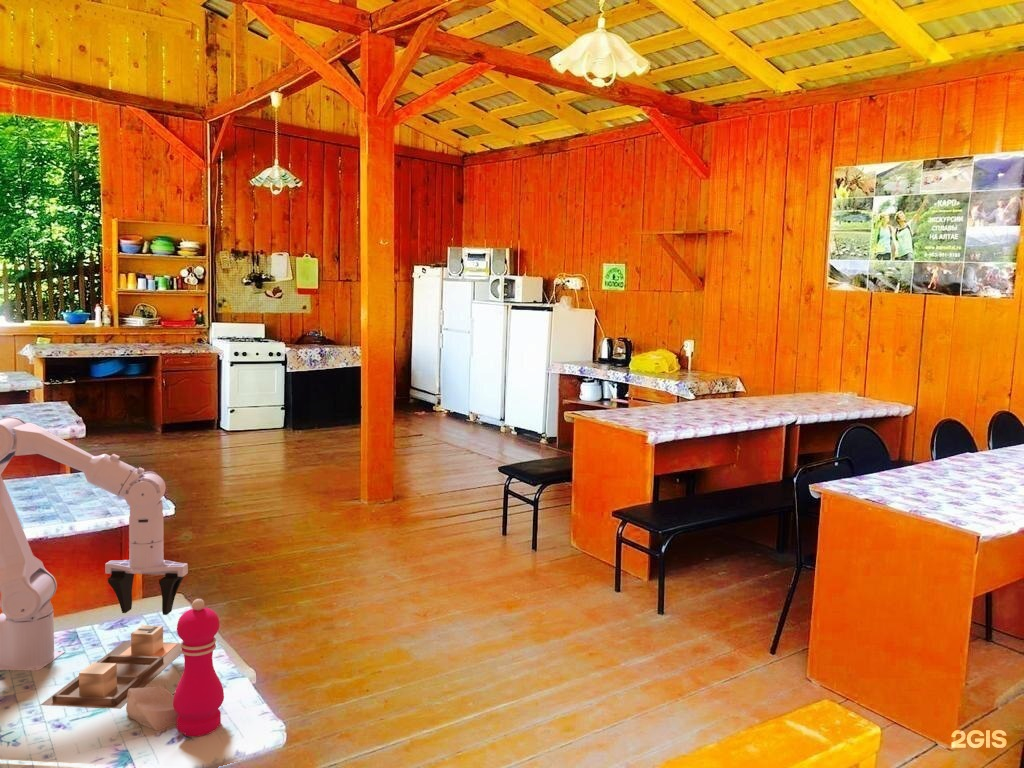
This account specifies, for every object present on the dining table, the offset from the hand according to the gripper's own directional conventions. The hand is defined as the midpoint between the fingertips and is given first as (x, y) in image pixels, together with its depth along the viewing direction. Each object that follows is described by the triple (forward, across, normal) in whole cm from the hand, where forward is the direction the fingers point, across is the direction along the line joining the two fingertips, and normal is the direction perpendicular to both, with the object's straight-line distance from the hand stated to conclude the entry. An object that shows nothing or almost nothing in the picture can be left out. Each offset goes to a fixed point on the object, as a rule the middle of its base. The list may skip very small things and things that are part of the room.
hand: (146, 612), depth 143 cm
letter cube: (+7, 0, 0) cm, 7 cm away
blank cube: (+7, 0, -16) cm, 18 cm away
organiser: (+8, 0, -8) cm, 12 cm away
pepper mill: (+8, +21, -24) cm, 33 cm away
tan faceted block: (+8, +13, -23) cm, 27 cm away
